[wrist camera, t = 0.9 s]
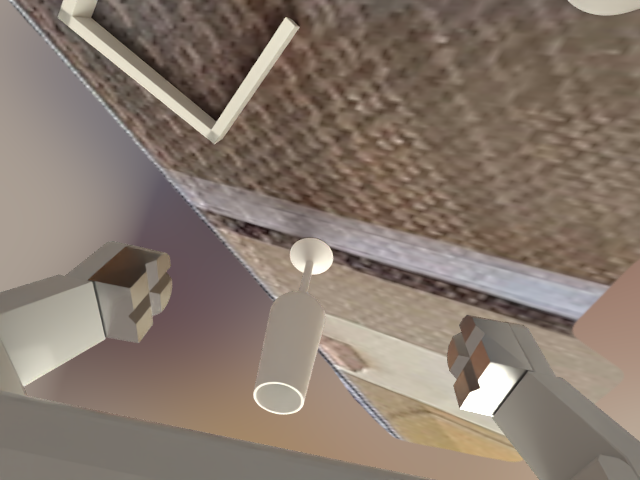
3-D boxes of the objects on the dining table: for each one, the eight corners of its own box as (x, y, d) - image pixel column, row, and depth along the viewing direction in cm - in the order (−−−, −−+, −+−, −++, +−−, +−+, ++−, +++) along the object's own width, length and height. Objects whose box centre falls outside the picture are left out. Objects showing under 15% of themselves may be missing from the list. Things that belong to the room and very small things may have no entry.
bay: (134, -137, 32) (114, -153, 29) (299, 27, 37) (295, 26, 34) (77, 19, 39) (57, 17, 36) (223, 138, 44) (214, 144, 41)
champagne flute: (283, 243, 51) (230, 379, 31) (325, 233, 50) (300, 369, 29) (298, 278, 54) (259, 423, 34) (338, 269, 53) (324, 417, 32)
